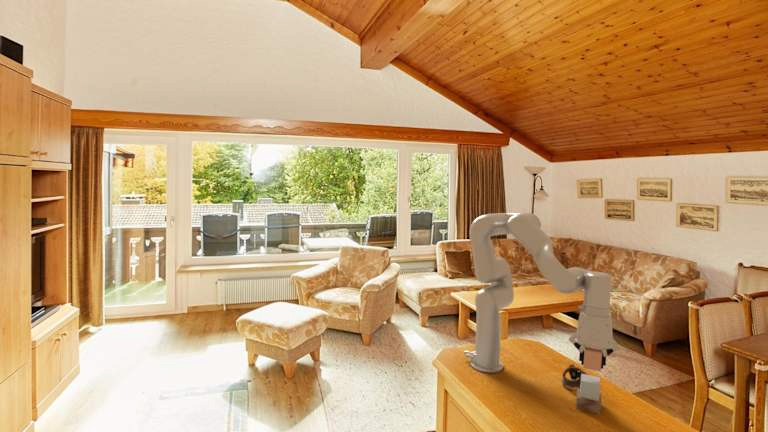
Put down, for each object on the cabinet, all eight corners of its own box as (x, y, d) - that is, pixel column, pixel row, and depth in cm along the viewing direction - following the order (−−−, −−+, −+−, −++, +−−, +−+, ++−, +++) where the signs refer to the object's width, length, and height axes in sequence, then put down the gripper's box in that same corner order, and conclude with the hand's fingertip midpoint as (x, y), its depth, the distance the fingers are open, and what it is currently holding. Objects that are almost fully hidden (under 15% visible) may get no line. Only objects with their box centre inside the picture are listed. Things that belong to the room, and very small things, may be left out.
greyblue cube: (579, 396, 135) (581, 380, 135) (579, 389, 140) (581, 373, 140) (598, 401, 133) (600, 384, 133) (598, 393, 138) (599, 377, 137)
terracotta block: (583, 368, 134) (584, 350, 134) (583, 362, 139) (584, 344, 138) (600, 371, 132) (602, 353, 132) (600, 365, 137) (601, 347, 136)
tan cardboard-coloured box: (576, 409, 135) (577, 397, 135) (576, 399, 142) (577, 388, 141) (600, 415, 132) (601, 403, 132) (599, 404, 139) (600, 393, 138)
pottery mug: (598, 395, 145) (591, 378, 143) (571, 404, 147) (564, 387, 144) (584, 371, 156) (577, 355, 154) (559, 379, 158) (552, 363, 156)
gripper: (566, 309, 134) (562, 364, 136) (627, 318, 127) (622, 375, 128) (567, 303, 141) (564, 355, 143) (625, 311, 134) (621, 366, 135)
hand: (592, 364), depth 135 cm, fingers closed on terracotta block, 5 cm apart
